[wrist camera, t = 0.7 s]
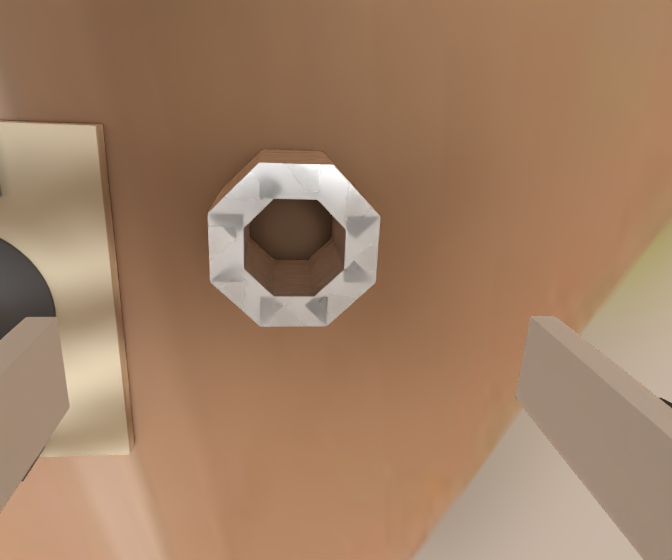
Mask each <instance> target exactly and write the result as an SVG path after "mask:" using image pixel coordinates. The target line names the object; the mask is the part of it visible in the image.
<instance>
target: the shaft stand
mask: <svg viewBox="0 0 672 560" xmlns="http://www.w3.org/2000/svg"><path fill="white" fill-rule="evenodd" d="M26 317H57V320H58V327H59V334H60V341H61V348H62V355H63V362H64V369H65V377H66V384H67V391H68V398H69V405H70V408H69V409H68V411H67V412H66V414H65V415H64V417H63V418H62V420H61V422H60V423H59V425H58V426H57V428H56V429H55V431H54V432H53V434H52V435H51V437H50V438H49V440H48V441H47V443H46V444H45V446H44V447H43V449H42V450H41V452H40V453H39V455H38V456H37V458H36V459H35V461H34V463H33V464H32V466H31V467H30V469H29V470H28V472H27V473H26V475H25V476H24V478H23V479H22V481H24V479H25V477H26V476H27V474H28V473H29V471H30V470H31V468H32V467H33V465H34V464H35V462H36V461H37V459H38V457H63V456H93V455H123V454H130V453H131V450H132V448H133V445H134V443H135V440H134V430H133V420H132V410H131V400H130V391H129V381H128V371H127V361H126V351H125V341H124V331H123V321H122V311H121V301H120V291H119V281H118V271H117V261H116V252H115V242H114V232H113V222H112V212H111V202H110V192H109V182H108V172H107V162H106V152H105V142H104V132H103V124H80V123H53V122H26V121H0V340H1V339H2V338H3V337H4V336H5V335H6V334H8V333H9V332H10V331H11V330H12V329H13V328H14V327H15V326H17V325H18V324H19V323H20V322H21V321H22V320H23V319H24V318H26Z"/></svg>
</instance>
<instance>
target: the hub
mask: <svg viewBox="0 0 672 560" xmlns="http://www.w3.org/2000/svg"><path fill="white" fill-rule="evenodd" d="M273 199H310V200H318V201H319V202H320V203H321V204H322V205H323V206H324V207H325V208H326V209H327V210H328V211H329V212H330V213H331V214H332V215H333V218H332V238H331V239H330V240H329V241H328V242H326V243H325V244H324V245H323V246H322V247H321V248H320V249H319V250H318V251H317V252H316V253H315V254H313V255H312V256H311V257H310V258H309V259H308V260H274V259H273V258H272V257H271V256H270V255H269V254H267V253H266V252H265V251H264V250H263V249H262V248H261V247H260V246H259V245H258V244H257V243H256V242H255V241H254V240H253V239H252V238H251V237H250V221H251V220H252V219H253V218H255V217H256V216H257V215H258V214H259V213H260V212H261V211H262V210H263V209H264V208H265V207H266V206H267V205H268V204H269V203H270V202H271V201H272V200H273ZM207 214H208V238H209V264H210V282H211V283H212V284H213V285H214V286H215V287H216V288H218V289H219V290H220V291H221V292H222V293H223V294H224V295H225V296H226V297H228V298H229V299H230V300H231V301H232V302H233V303H234V304H235V305H237V306H238V307H239V308H240V309H241V310H242V311H243V312H244V313H246V314H247V315H248V316H249V317H250V318H251V319H252V320H253V321H254V322H256V323H257V324H258V325H259V326H260V327H272V326H327V325H329V324H330V323H331V322H332V321H333V320H334V319H335V318H336V317H337V316H339V315H340V314H341V313H342V312H343V311H344V310H345V309H346V308H348V307H349V306H350V305H351V304H352V303H353V302H354V301H355V300H357V299H358V298H359V297H360V296H361V295H362V294H363V293H364V292H366V291H367V290H368V289H369V288H370V287H371V286H372V285H373V284H375V283H376V270H377V256H378V242H379V229H380V216H379V214H378V213H377V212H376V211H375V210H374V209H373V207H372V206H371V205H370V204H369V203H368V201H367V200H366V199H365V198H364V197H363V196H362V194H361V193H360V192H359V191H358V190H357V189H356V188H355V187H354V186H353V184H352V183H351V182H350V181H349V180H348V179H347V178H346V177H345V176H344V175H343V173H342V172H341V171H340V170H339V169H338V168H337V167H336V166H335V165H334V164H333V162H332V161H331V160H330V159H329V158H328V157H327V156H326V155H325V154H324V153H323V151H306V150H276V149H262V150H261V151H260V152H259V153H258V154H257V155H256V156H255V157H254V158H253V159H252V160H251V161H250V162H249V163H248V164H247V165H246V166H245V167H244V168H243V169H242V170H241V171H240V172H239V173H238V174H237V175H236V176H235V177H234V178H232V179H231V180H230V181H229V182H228V183H227V184H226V185H225V186H224V187H223V188H222V189H221V190H220V192H219V194H218V196H217V197H216V199H215V201H214V203H213V205H212V206H211V208H210V210H209V212H208V213H207Z"/></svg>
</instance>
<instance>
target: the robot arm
mask: <svg viewBox="0 0 672 560" xmlns="http://www.w3.org/2000/svg"><path fill="white" fill-rule="evenodd" d="M516 399H517V400H518V402H519V403H520V404H521V406H522V407H523V408H524V409H525V411H526V412H527V413H528V414H529V416H530V417H531V418H532V419H533V421H534V422H535V423H536V424H537V426H538V427H539V428H540V429H541V431H542V432H543V433H544V434H545V436H546V437H547V438H548V439H549V441H550V442H551V443H552V445H553V446H554V447H555V448H556V449H557V451H558V452H559V453H560V455H561V456H562V457H563V459H564V460H565V461H566V462H567V464H568V465H569V466H570V467H571V469H572V470H573V471H574V472H575V474H576V475H577V476H578V477H579V479H580V480H581V481H582V482H583V484H584V485H585V486H586V487H587V489H588V490H589V491H590V492H591V494H592V495H593V496H594V498H595V499H596V500H597V501H598V503H599V504H600V505H601V506H602V508H603V509H604V510H605V511H606V513H607V514H608V515H609V517H610V518H611V519H612V520H613V522H614V523H615V524H616V525H617V527H618V528H619V529H620V530H621V532H622V533H623V534H624V535H625V537H626V538H627V539H628V540H629V542H630V543H631V544H632V546H633V547H634V548H635V549H636V551H637V552H638V553H639V554H640V556H641V557H642V558H643V559H644V560H672V403H670V402H668V401H666V400H664V399H662V398H658V397H657V396H656V395H654V394H653V393H652V392H651V391H649V390H648V389H647V388H646V387H644V386H643V385H642V384H640V383H639V382H638V381H637V380H635V379H634V378H633V377H632V376H630V375H629V374H628V373H627V372H625V371H624V370H623V369H621V368H620V367H619V366H618V365H616V364H615V363H614V362H613V361H611V360H610V359H609V358H607V357H606V356H605V355H604V354H602V353H601V352H600V351H599V350H597V349H596V348H595V347H594V346H592V345H591V344H590V343H589V342H587V341H586V340H585V339H583V338H582V337H581V336H580V335H578V334H577V333H576V332H575V331H573V330H572V329H571V328H570V327H568V326H567V325H566V324H564V323H563V322H562V321H561V320H559V319H558V318H557V317H556V316H530V320H529V326H528V332H527V337H526V343H525V348H524V354H523V359H522V365H521V370H520V376H519V381H518V387H517V393H516ZM69 408H70V405H69V398H68V391H67V384H66V377H65V369H64V362H63V355H62V348H61V341H60V334H59V327H58V320H57V317H26V318H24V319H23V320H22V321H21V322H20V323H19V324H18V325H17V326H15V327H14V328H13V329H12V330H11V331H10V332H9V333H8V334H6V335H5V336H4V337H3V338H2V339H1V340H0V513H1V511H2V510H3V508H4V507H5V505H6V504H7V502H8V501H9V499H10V497H11V496H12V494H13V493H14V491H15V490H16V488H17V487H18V485H19V484H20V482H21V481H22V479H23V478H24V476H25V475H26V473H27V472H28V470H29V469H30V467H31V466H32V464H33V463H34V461H35V459H36V458H37V456H38V455H39V453H40V452H41V450H42V449H43V447H44V446H45V444H46V443H47V441H48V440H49V438H50V437H51V435H52V434H53V432H54V431H55V429H56V428H57V426H58V425H59V423H60V422H61V420H62V418H63V417H64V415H65V414H66V412H67V411H68V409H69Z"/></svg>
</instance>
